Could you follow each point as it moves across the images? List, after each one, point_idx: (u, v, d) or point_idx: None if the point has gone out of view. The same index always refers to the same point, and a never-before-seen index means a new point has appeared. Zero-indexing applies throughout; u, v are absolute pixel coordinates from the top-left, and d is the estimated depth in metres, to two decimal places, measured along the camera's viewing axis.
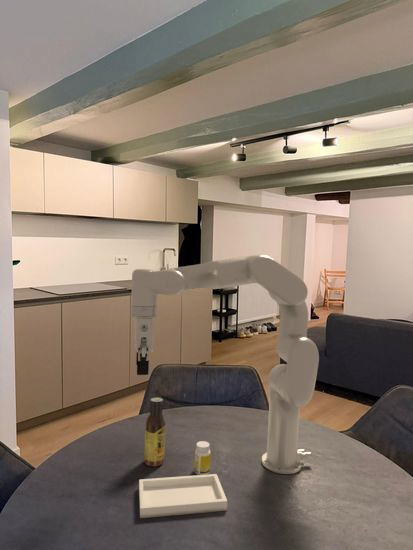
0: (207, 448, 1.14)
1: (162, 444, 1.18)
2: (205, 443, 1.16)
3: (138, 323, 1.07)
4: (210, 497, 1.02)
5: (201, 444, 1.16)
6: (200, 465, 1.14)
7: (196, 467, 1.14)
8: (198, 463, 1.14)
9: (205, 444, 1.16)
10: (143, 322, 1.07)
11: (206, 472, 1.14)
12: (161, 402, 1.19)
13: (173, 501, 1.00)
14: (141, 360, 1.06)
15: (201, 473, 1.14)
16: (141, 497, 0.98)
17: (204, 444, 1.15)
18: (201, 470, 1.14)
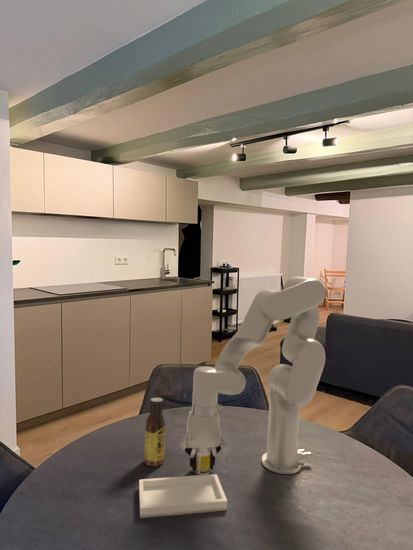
0: (207, 448, 1.14)
1: (162, 444, 1.18)
2: None
3: (219, 419, 1.15)
4: (210, 497, 1.02)
5: None
6: (200, 465, 1.14)
7: (196, 467, 1.14)
8: (198, 463, 1.14)
9: None
10: None
11: (206, 472, 1.14)
12: (161, 402, 1.19)
13: (173, 501, 1.00)
14: None
15: (201, 473, 1.14)
16: (141, 497, 0.98)
17: None
18: (201, 470, 1.14)
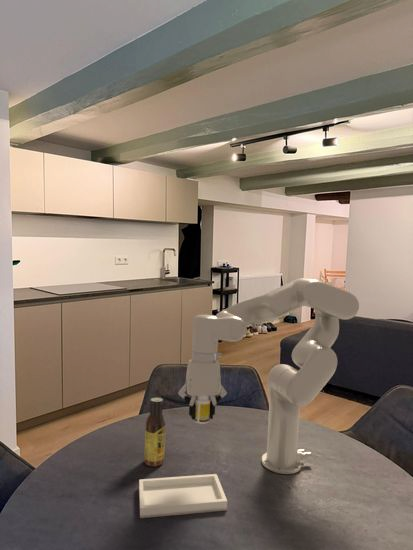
0: (207, 396, 1.12)
1: (162, 444, 1.18)
2: None
3: (219, 367, 1.12)
4: (210, 497, 1.02)
5: None
6: (199, 414, 1.11)
7: (195, 416, 1.12)
8: (197, 412, 1.12)
9: None
10: (219, 365, 1.14)
11: (205, 420, 1.12)
12: (161, 402, 1.19)
13: (173, 501, 1.00)
14: None
15: (200, 421, 1.11)
16: (141, 497, 0.98)
17: None
18: (200, 419, 1.11)
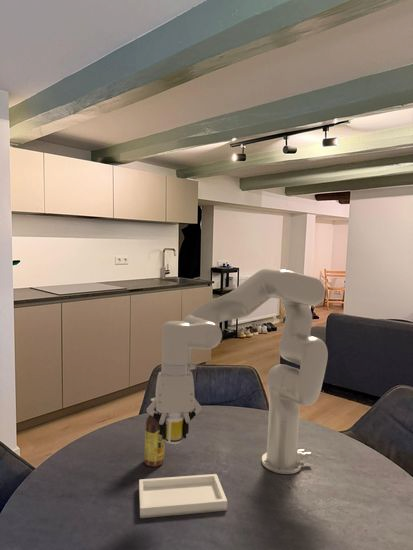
0: (179, 413, 0.99)
1: (162, 444, 1.18)
2: None
3: (192, 380, 1.00)
4: (210, 497, 1.02)
5: None
6: (170, 433, 0.99)
7: (166, 435, 0.99)
8: (168, 430, 0.99)
9: None
10: (192, 377, 1.01)
11: (177, 440, 0.99)
12: None
13: (173, 501, 1.00)
14: None
15: (172, 442, 0.99)
16: (141, 497, 0.98)
17: None
18: (172, 438, 0.99)
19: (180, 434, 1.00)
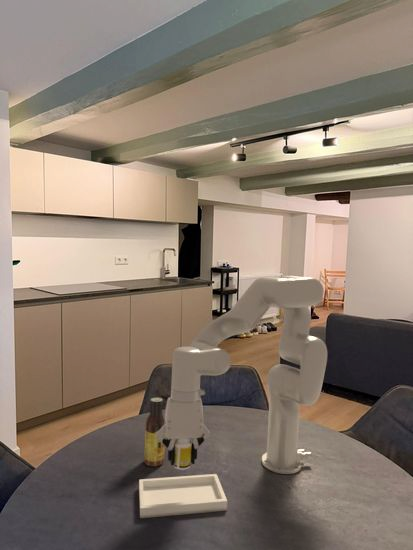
0: (188, 439, 1.00)
1: (162, 444, 1.18)
2: None
3: (201, 406, 1.01)
4: (210, 497, 1.02)
5: None
6: (179, 459, 0.99)
7: (175, 461, 1.00)
8: (177, 456, 1.00)
9: None
10: None
11: (186, 466, 1.00)
12: (161, 402, 1.19)
13: (173, 501, 1.00)
14: None
15: (180, 467, 0.99)
16: (141, 497, 0.98)
17: None
18: (181, 464, 0.99)
19: (189, 460, 1.00)
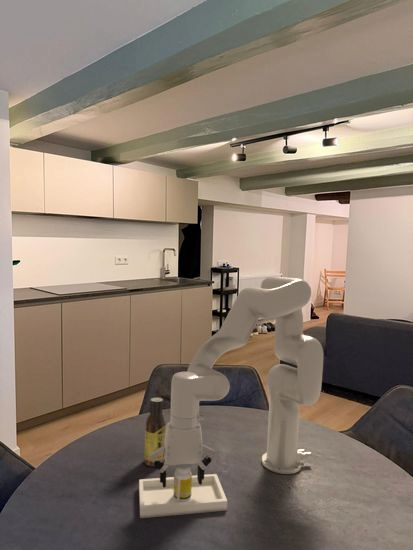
0: (188, 470, 1.01)
1: (162, 444, 1.18)
2: (186, 464, 1.02)
3: (200, 432, 1.01)
4: (210, 497, 1.02)
5: (181, 466, 1.02)
6: (180, 490, 1.00)
7: (175, 492, 1.01)
8: (177, 488, 1.00)
9: (185, 465, 1.02)
10: None
11: (186, 497, 1.00)
12: (161, 402, 1.19)
13: (173, 501, 1.00)
14: None
15: (181, 499, 1.00)
16: (141, 497, 0.98)
17: (185, 466, 1.02)
18: (181, 496, 1.00)
19: (189, 491, 1.01)
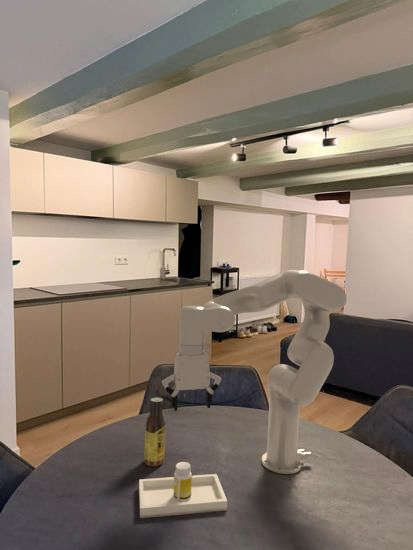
0: (188, 470, 1.01)
1: (162, 444, 1.18)
2: (186, 464, 1.02)
3: (208, 359, 1.09)
4: (210, 497, 1.02)
5: (181, 466, 1.02)
6: (180, 490, 1.00)
7: (175, 492, 1.01)
8: (177, 488, 1.00)
9: (185, 465, 1.02)
10: None
11: (186, 497, 1.00)
12: (161, 402, 1.19)
13: (173, 501, 1.00)
14: None
15: (181, 499, 1.00)
16: (141, 497, 0.98)
17: (185, 466, 1.02)
18: (181, 496, 1.00)
19: (189, 491, 1.01)
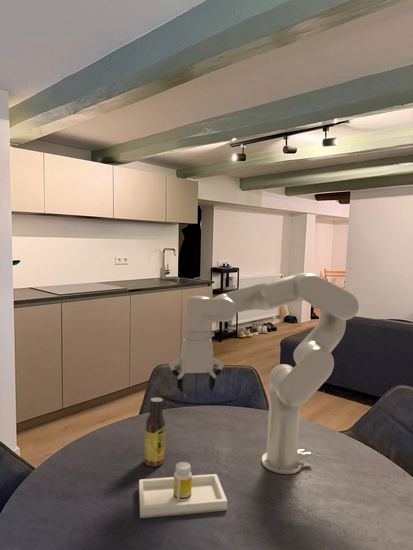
0: (188, 470, 1.01)
1: (162, 444, 1.18)
2: (186, 464, 1.02)
3: None
4: (210, 497, 1.02)
5: (181, 465, 1.02)
6: (180, 490, 1.00)
7: (175, 492, 1.01)
8: (177, 488, 1.00)
9: (185, 465, 1.02)
10: None
11: (186, 497, 1.00)
12: (161, 402, 1.19)
13: (173, 501, 1.00)
14: None
15: (181, 499, 1.00)
16: (141, 497, 0.98)
17: (185, 466, 1.02)
18: (181, 496, 1.00)
19: (189, 491, 1.01)
